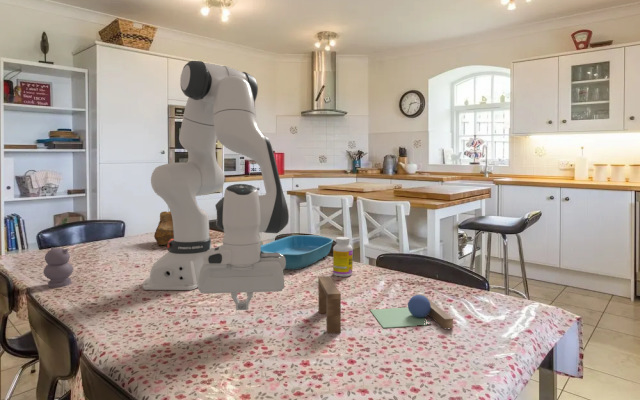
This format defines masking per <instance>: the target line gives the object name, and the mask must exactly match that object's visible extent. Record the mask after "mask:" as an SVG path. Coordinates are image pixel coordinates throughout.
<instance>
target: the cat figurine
mask: <svg viewBox="0 0 640 400" xmlns="http://www.w3.org/2000/svg"><path fill="white" fill-rule="evenodd" d="M44 260H45V263H46V264H47V265H46V266H44V269H43V275H44V276H45V278H47V279H48V281H47V286H48V287H49V288H53V289H54V288H62V287H66V286H70V285H72V278H70V276H71V275H72V274H73V271H74V267H73V265H72V264H71V263H70V262H69V261H70V253H69V248H68V247H67V248H62V247H51V248H50V250H48V251H47V252H46V254H45V255H44Z"/></svg>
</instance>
